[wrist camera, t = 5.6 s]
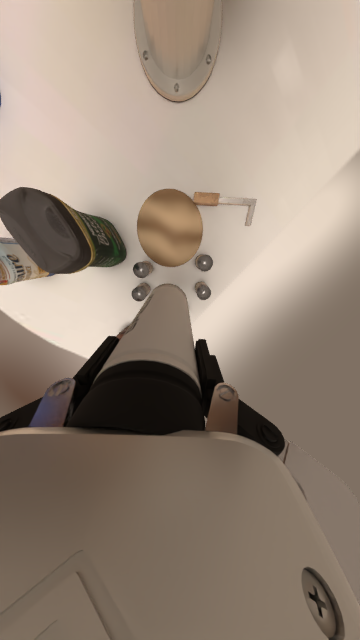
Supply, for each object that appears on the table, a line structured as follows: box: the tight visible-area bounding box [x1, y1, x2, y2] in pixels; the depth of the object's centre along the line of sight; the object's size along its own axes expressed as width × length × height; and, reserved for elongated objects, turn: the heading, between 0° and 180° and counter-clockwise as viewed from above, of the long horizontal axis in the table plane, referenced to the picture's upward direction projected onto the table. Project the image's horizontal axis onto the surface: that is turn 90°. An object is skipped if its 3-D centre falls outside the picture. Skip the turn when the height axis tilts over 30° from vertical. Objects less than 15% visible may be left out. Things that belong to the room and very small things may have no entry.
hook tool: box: [194, 192, 257, 226], centre depth 29 cm, size 13×5×2 cm, turn 88°
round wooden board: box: [137, 189, 203, 267], centre depth 31 cm, size 15×15×1 cm
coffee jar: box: [0, 187, 126, 274], centre depth 24 cm, size 10×8×19 cm
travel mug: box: [66, 284, 205, 435], centre depth 14 cm, size 6×7×20 cm
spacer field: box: [132, 255, 213, 301], centre depth 34 cm, size 16×19×6 cm
